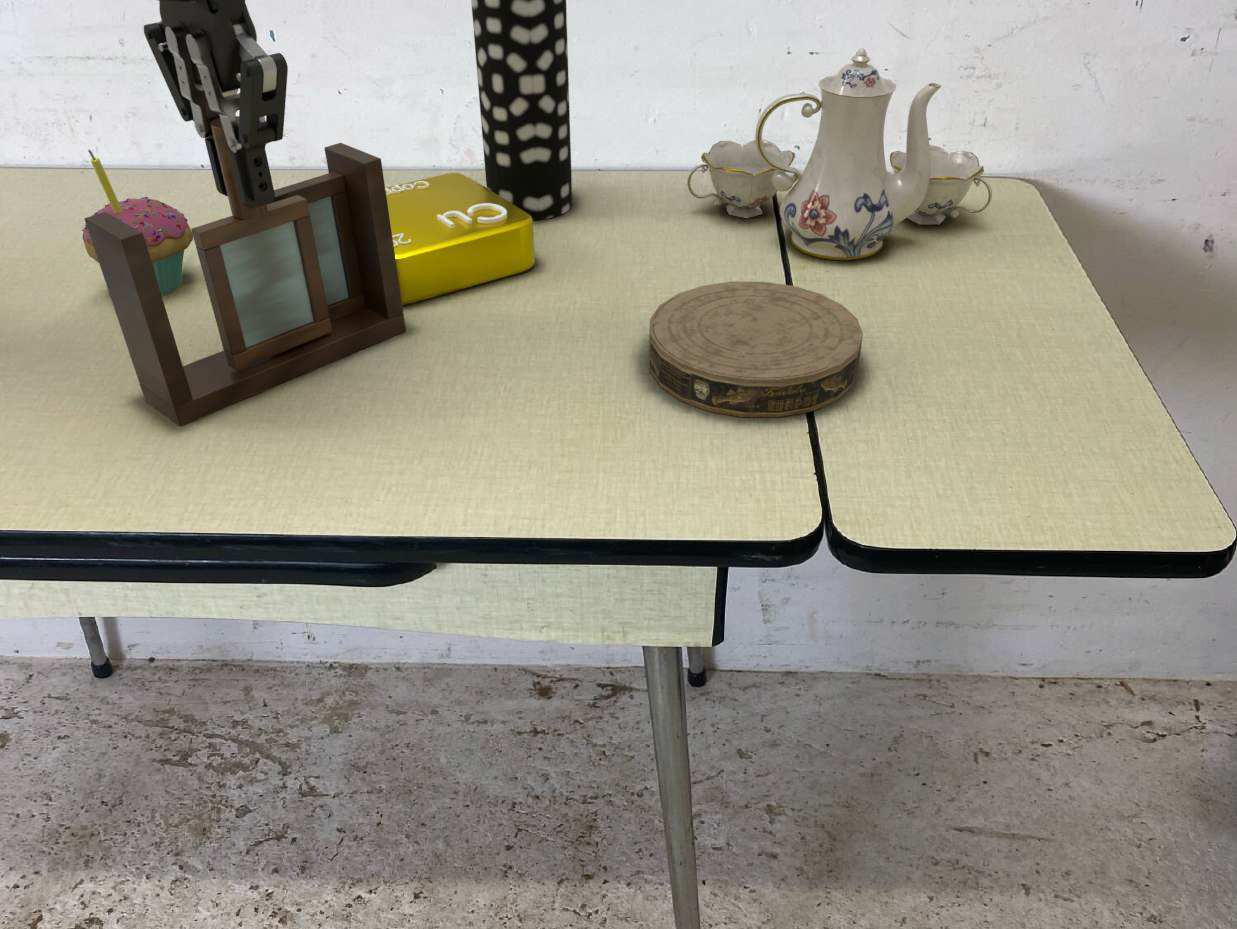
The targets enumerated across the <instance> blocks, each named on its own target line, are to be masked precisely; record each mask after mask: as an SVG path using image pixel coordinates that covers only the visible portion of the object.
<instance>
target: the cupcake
mask: <svg viewBox="0 0 1237 929" xmlns="http://www.w3.org/2000/svg"><path fill="white" fill-rule="evenodd" d="M87 152H88V153H89V155H90V158H91V159H90V163H91V165H92V167H93V169H94V172H95V174H96V176H97V178H98V180H99V182H100V184H101V187H102V189H103V191H104V194H105V195H106V198H107V200H108V202H109V203H108V204H105V205H104V207H103V208H100V209H98V210H97V211H96V212H94V213H93V214H92V215H91V216H93V215H97V214H100V213H104V212H107V213H108V214H110V215H112V216H114V217H115V218H117V219H119V220H121V221H123V222H124V223H126V224H128V225H130V226H132V227H133V228H135V229H137V230H139V231H140V232H142V233H143V235H144V238H145V242H146V245H147V248H148V252H149V255H150V258H151V262H152V265H153V268H154V272H155V275H156V278H157V282H158V285H159V288H160V292H161V295H162V297H163V296H165V295H169V294H171V293H172V292H175V291H177V290H178V289H179V288H180V287H181V285H182V283H183V264H184V254H185V250H187V249H188V248H189V247H190V245H191V243H192V242H193V241H194V237H193V234H192V230H191V229H192V228H191V226H190V225H189V223H188V219H187V217H185V214H184V213H182V212H181V211H179V210H178V209H177V208H174V207H173V206H171V205H168V204H167V203H164V202H162V201H159V200H158V199H153V198H149V197H147V196H145V197H140V198H134V197H133V198H129V197H128V198H126V200H122V201H119V199H118V198H117V194H116V193H115V191H114V188H113V186H112V184H111V182H110V180H109V178H108V176H107V175H108V174H107V173H106V171H105V168H104V166H103V165H102V162H101V160H100V158H99V157H95V155H94V153H93V152H92V150H91V149H87ZM81 231H82V240H83V244H84V248H85V250H86V253H87V254H88V256H89V257H90V258H92V259H93V260H94V261H95V262H97V263H98V264H99V261H98V258H97V255H96V252H95V249H94V246H93V243H92V240H91V237H90V234H89V231H88V228H87V225H86V223H84V227H83V228H82V230H81Z"/></svg>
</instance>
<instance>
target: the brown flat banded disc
mask: <svg viewBox="0 0 1237 929" xmlns="http://www.w3.org/2000/svg"><path fill="white" fill-rule="evenodd" d="M862 330H863V329H862V327H861V325H860V322H859V319H858V318H857V317H856V316H855V315H854V314H853V313H852V312H851V311H850V310H849V309H847V307H846V306H845V305H843V304H841V303H839V302H838V301H835V300H834V299H832V298H830V297H828V296H825V295H824V294H822V293H819V292H815V291H813V290H810V289H805V288H802V287H799V286H795V285H792V284H791V285H789V284H782V283H774V282H768V281H725V282H719V283H712V284H705V285H701V286H698V287H694V288H691V289H688V290H685V291H682V292H679V293H677V294H674V295H673V296H672V297H670V298H669V299H667V300H666V301H664V302H663V303H661V304H659V306H657V308H656V309H655V311H654V313H653V314H652V315H651V317H650V319H649V341H648V342H649V344H648V346H649V349H648V351H649V352H648V353H649V354H648V358H649V359H648V361H649V362H648V363H649V373H650V374H651V376H652V377H653V379H654V380H655V381H656V383H657V384H658V386H659V387H660V388H661V389H663V390H665V391H666V392H667V393H669V395H671V396H673V397H674V398H675V399H677V400H679V401H680V402H682V403H686V404H688V405H690V406H693V407H696V408H698V409H702V410H705V411H707V412H710V413H716V414H722V415H726V416H727V415H728V416H733V417H740V418H782V417H788V416H789V417H790V416H795V415H799V414H805V413H811V412H813V411H815V410H818V409H820V408H823V407H825V406H827V405H830V404H833V403H835V402H837V401H838V400H839V399H840V398H841V397H842V396H844V395H845V394H846V393H847V392H848V391H849V390H851V389H852V388H853V385H854V382H855V379H856V376H857V373H858V369H859V363H860V355H861V349H862V344H863V339H864V338H863V337H864V333H863V331H862Z"/></svg>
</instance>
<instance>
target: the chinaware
mask: <svg viewBox="0 0 1237 929" xmlns="http://www.w3.org/2000/svg"><path fill="white" fill-rule="evenodd" d="M870 61H871V58H870V57H869V55H868V53H867V51H866V49H865V48H863V47H861V48H859V49H858V50H857V51H856V53H855V54H854V55H853V56H852V57H851V62H852V63H848V64H846V65H844V66H842V67H841V68H840V69H839V71H838V73H837V74H834V75H827V76H825V77H824V78H822V79H819V81H818V87H819V88H820V97H821V99H819V98H818V97H817V96H816V95H814V94H812V93H807V92H805V93H801V92H799V93H790V94H786V95H782V96H780V97H778V98H776V99H775V100H773V101H771V103H770V104H769V105H767V106H766V107H765V109H764V110H763V112H762V113H761V115H760V116H759V119H758V121H757V123H756V127H755V134H754V140H751V141H748V142H747V143H744V144H740V143H737V142H735V141H732V140H720V141H718V142H716V143H714V144H712V146H711V148H710V149H709V151H708V152H705V151H704V152H702V155H701V156H700V159H701V161H702V163H701V164H697V165H695V166H694V167H693V168H692V169H691V170H690V172H689V174H688V177H687V182H686V183H687V189H688V191H689V193H690V194H691V195H692V196H693V197H695V198H696V199H700V200H701V199H706V198H708V197H715V198H716V199H715V200H714V203H713V205H714V206H715V207H720V206H721V205H722V204H723V202H725V203H727V204H728V205H726V206H725V208H726V212H727V213H728V215H729V216H734V217H738V218H745V219H749V218H753V217H757V216H759V215H763V211H762V208H760V206H762V205H764V204H766V203H767V202H768V201H770V200H772V198H773V197H775V195H776V194H777V192H778V191H779V192H781V193H782V192H783V193H784V192H787V194H786V195H785V197H784V198H783V200H782V202H781V204H780V206H779V215H780V218H781V219H782V221H783V223H784V225H785V226H786V228H788V229H789V230H790V231H791V234H790V243H791V244H792V245H793V247H795V249H797V250H798V251H800V252H801V253H803V254H805V255H809V256H812V257H814V258H815V257H816V258H819V259H824V260H831V261H853V260H861V259H865V258H868V257H871V256H874V255H876V254H877V253H879V252H880V251H881V250H882V248H883V247H884V241H883V240H884V239H885V238H886V237H887V236H888V235H890V233H891V232H892V230H893V228H894V227H896V226H897V225H899V224H900V223H901V222H903V221H904V220H905V219H908V220H910V221H911V222H914V223H916V224H917V225H930V226H931V225H941V223H943V221H944V220H945V219H946V215H945V213H947V212H949V216H950V217H951V218H952V219H956V218H958V217H959V215H960V213H959V209H960V210H963V211H965V212H967V213H970V214H979V213H981V212H983V211H985V210H986V209H987V208H988V206H989V205H990V204H991V201H992V198H993V190H992V186H991V184H990V183H989V182H988V181H987V180H986V179H984V178H983V177H982V178H981V176H982V175H983V174H984V172H985V168H984V165H980V161H979V157H978V156H977V155H975V154H974V153H973V152H972V151H966V150H960V151H953V152H950V153H949V151H946V150H945V149H943V148H941V147H940V146H937V145H932V144H931V145H930V138H929V129H928V120H927V109H928V105H929V103H930V100H931V99H932V97H934V95H935V94H936V93H937V92H938V91H939V90H940V89H941V88H942V85H941V84H939V83H936V82H935V83H934V82H931V83H928V84H926V85H925V86H924V87H923V88H921V89H920V90H919V91H918V92H916V94H915V96H914V97H913V99H912V102H911V103H910V107H909V111H908V116H907V126H906V143H905V144H906V145H905V149H906V150H905V152H904V151H900V150H896V151H892V152H890V154H889V164H890V166H891V169H892V170H893V173H891V172H889V171H888V170H887V166H886V156H885V144H884V141H885V140H884V138H885V135H884V134H885V125H886V124H885V123H886V117H887V111H888V107H889V105H890V101H891V99H892V97H893V94H894V92H895V91H896V90H897V84H896V83H894V82H893V81H892V80H891V79H887V78H884V77H882V76H880V73H879V70H878V69H877V68H876V67H875V66H874V65H872V64H869V62H870ZM801 101H811V102H813V103H815V105H816V106H815V108H813V105H812V104H811V103H810V102H806V103H804V104H803V106H802V108H801V115H802V117H803V118H806V119H809V118H811V117H812V116H813V115H815V114H817V113H819V112H820V111H821V113H820V121H819V126H818V132H817V136H816V140H815V143H814V145H813V148H812V152H811V154H810V155H809V159H808V161H807V163H806V165H805V167H804V168H803V171H802V173H801V172H800V170H799V169H798V168H796V167H794V166H791V165H792V163H793V162H794V161H795V158H796V153H795V152H793V151H792V150H781V149H780V148H779V147H778V145H776V144H775V143H774V142H771V141H768V140H766V139H763V130H764V127H765V124H766V122H767V120H768V118H769V117H770V115H772V114H773V113H774V112H775V111H776V110H777V109H778V108H779V107H781V106H783V105H785V104H788V103H793V102H801ZM698 169H701V173H702V174H705V173H706V171H707V170H708V171H709V175H710V179H711V183H712V186H713V188H714V191H715V192H716V193H715V192H709V193H706V194H701V195H700V194H697V193H696V192H695V191H694V190H693V189H692V186H691V179H692V176H693V174H694V173H695V172H696V171H697V170H698ZM787 173H791V174H793V176H792V177H791V176H790V175H789V174H787ZM981 183H982V184H984V186H985V187H986V189H987V193H988V198H987V201H986V203H985V204H984V205H983V206H982V207H980V208H978V209H971V208H968V207H966V206H965V205H959V204H960V203H961V202H962V201H963V200H964V198H965V197H966V195H967V194H968V192H969V191H970V188H971V186H972V185H973V184H974V185H975V187H976V188H977V187H979V186H980V185H981Z"/></svg>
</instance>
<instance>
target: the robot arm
mask: <svg viewBox="0 0 1237 929" xmlns="http://www.w3.org/2000/svg"><path fill="white" fill-rule="evenodd" d="M157 1H159V3H158V4H159V16H160V19H161V20H160V21H158V22H153V23H147V24H143V34H144V37H145V39H146V41H147V44H148V46H149V48H150V50H151V53H152V55H153V57H154V60H155V61H156V64H157V66H158V67H159V70H160V73H161V75H162V77H163V80H164V82H165V84H166V86H167V88H168V91H169V93H170V95H171V98H172V99H173V102H174V104H175V106H176V108H177V110H178V112H179V115H180V118H181V119H182V120H183V121H184V122H185V123H188V122H191V121H193V125H194V128H195V131H196V133H197V135H198V136H199V137H200V138H201V139H204V143H205V148H206V151H207V156H208V159H209V163H210V167H211V171H212V175H213V179H214V180H213V181H214V184H215V187H216V190H217V192H218V193H219V194H221V195H223V196H225V197H228V195H227V191H226V187H225V183H224V179H223V174H222V170H221V166H220V162H219V158H218V154H217V150H216V146H215V141H214V137H213V133H212V129H211V125H210V124H211V122H212V121H213V120H215V119H218V118H220V119H221V122H222V126H223V129H224V133H225V136H226V140H227V143H228V145H229V147H230V149H231V150H229V153H230V157H231V162H232V166H233V170H234V174H235V179H236V183H237V187H238V191H239V196H240V200H241V202H242V204H243V205H245V206H247V207H249V208H257V207H260V206H263V205H266V204H269V203H272V202H273V201H274V198H275V193H274V190H275V189H274V183H273V179H272V173H271V171H270V164H269V160H268V156H267V151H266V145H267V144H268V145H269V144H270V143H272V142H278V141H282V140H283V138H284V129H285V128H284V126H285V116H286V100H287V85H288V74H289V68H288V67H289V66H288V63H287V60H286V58H285V57H284V55H283V54H282V53H280V52H276V53H271V54H268V53H266V51H265V50H264V49H263V48H262V47H261V46H260V45H259V43H258V42H257V41H258V35H257V29H256V28H255V23H254V22H253V20H252V17H251V15H250V12H249V9H248V5H247V4H246V0H157ZM238 92H239V93H238ZM237 112H239V113H238V116H239V127H238V124H237V120H236V116H237V115H236V113H237Z"/></svg>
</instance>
